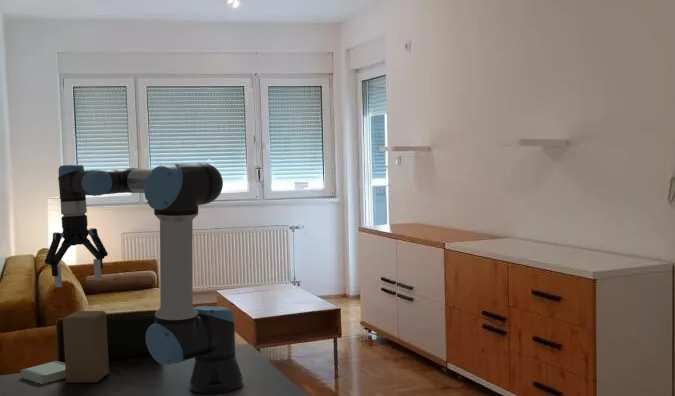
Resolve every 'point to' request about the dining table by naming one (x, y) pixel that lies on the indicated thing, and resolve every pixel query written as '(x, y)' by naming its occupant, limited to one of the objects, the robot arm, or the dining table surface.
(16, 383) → the dining table surface
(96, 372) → the wooden block
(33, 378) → the dock
